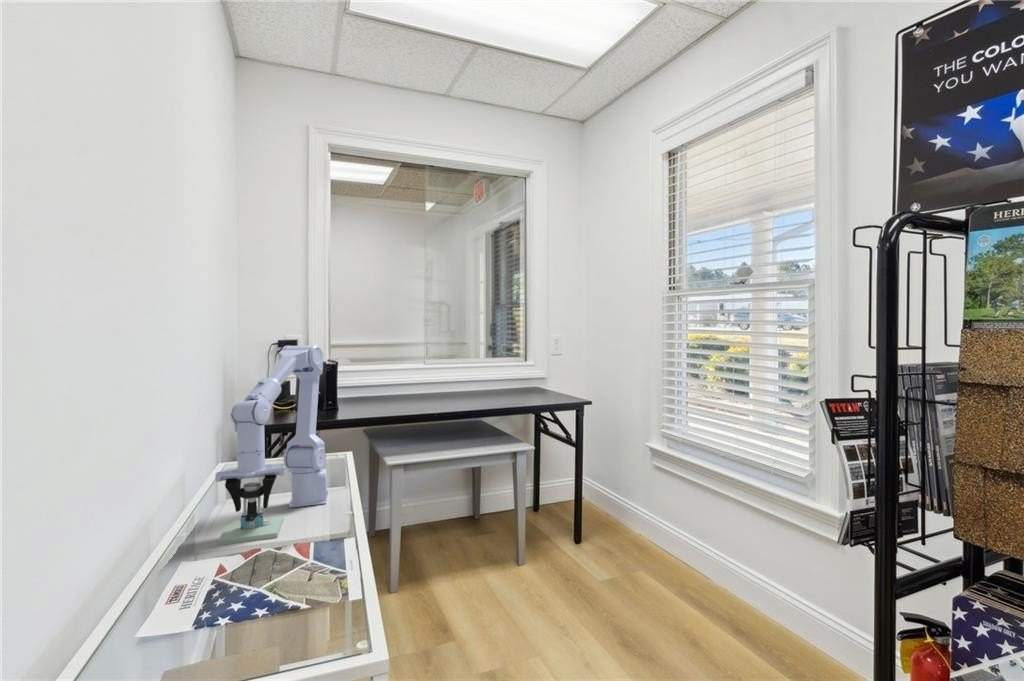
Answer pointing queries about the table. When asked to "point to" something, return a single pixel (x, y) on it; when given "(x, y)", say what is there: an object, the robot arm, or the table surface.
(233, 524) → the sage board
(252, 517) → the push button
